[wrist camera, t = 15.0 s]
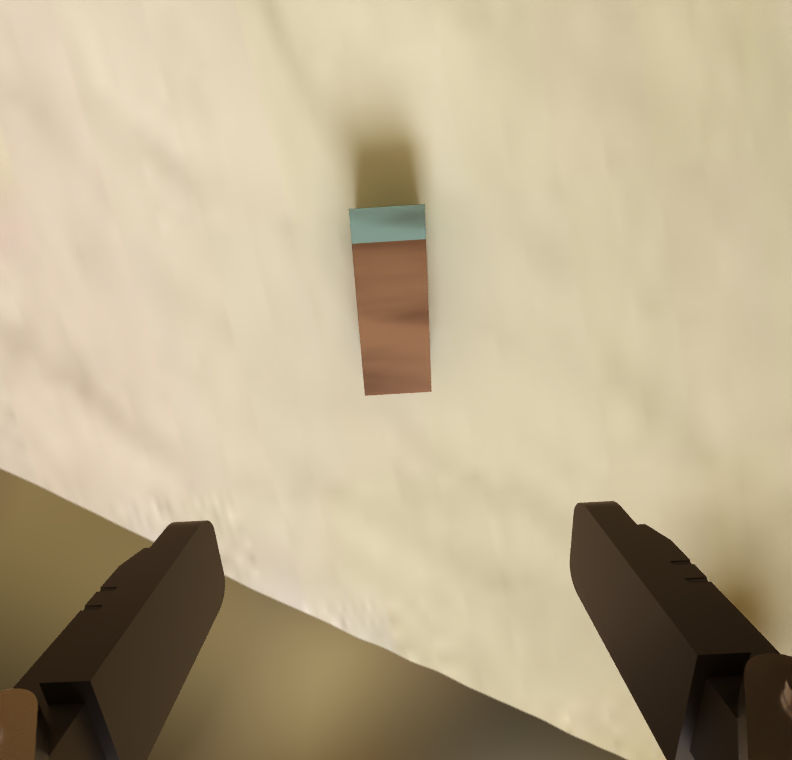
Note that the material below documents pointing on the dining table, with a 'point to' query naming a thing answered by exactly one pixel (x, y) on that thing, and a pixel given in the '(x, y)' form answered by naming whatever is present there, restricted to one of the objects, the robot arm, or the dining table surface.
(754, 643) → the robot arm
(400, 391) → the green and brown block
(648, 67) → the dining table surface
